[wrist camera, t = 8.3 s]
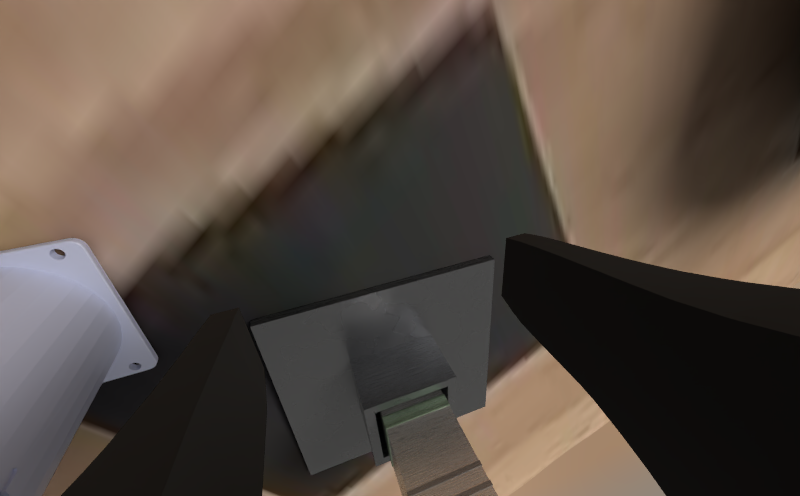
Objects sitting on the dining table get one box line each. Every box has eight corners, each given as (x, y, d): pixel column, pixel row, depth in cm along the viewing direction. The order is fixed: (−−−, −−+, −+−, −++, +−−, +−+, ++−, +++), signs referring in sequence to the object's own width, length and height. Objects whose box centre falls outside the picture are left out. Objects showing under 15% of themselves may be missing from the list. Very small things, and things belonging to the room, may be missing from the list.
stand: (310, 467, 28) (316, 532, 24) (250, 320, 20) (246, 381, 16) (481, 400, 31) (511, 447, 28) (489, 255, 24) (532, 291, 20)
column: (384, 440, 23) (431, 593, 16) (377, 403, 21) (428, 559, 14) (438, 419, 24) (504, 554, 17) (437, 381, 22) (510, 518, 15)
